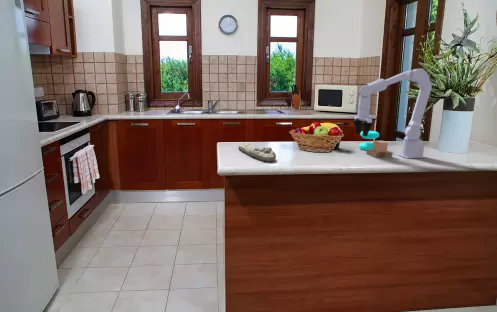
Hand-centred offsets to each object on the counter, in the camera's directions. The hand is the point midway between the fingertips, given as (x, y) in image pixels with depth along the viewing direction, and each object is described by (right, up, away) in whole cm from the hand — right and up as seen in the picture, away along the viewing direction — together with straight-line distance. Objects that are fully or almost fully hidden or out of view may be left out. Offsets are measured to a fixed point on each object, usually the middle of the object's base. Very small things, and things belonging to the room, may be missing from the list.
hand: (361, 134), depth 186 cm
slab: (+8, -12, -3) cm, 14 cm away
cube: (+8, -9, -4) cm, 13 cm away
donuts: (+8, -8, +13) cm, 17 cm away
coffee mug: (-10, -7, +13) cm, 18 cm away
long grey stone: (-56, -11, -6) cm, 57 cm away
